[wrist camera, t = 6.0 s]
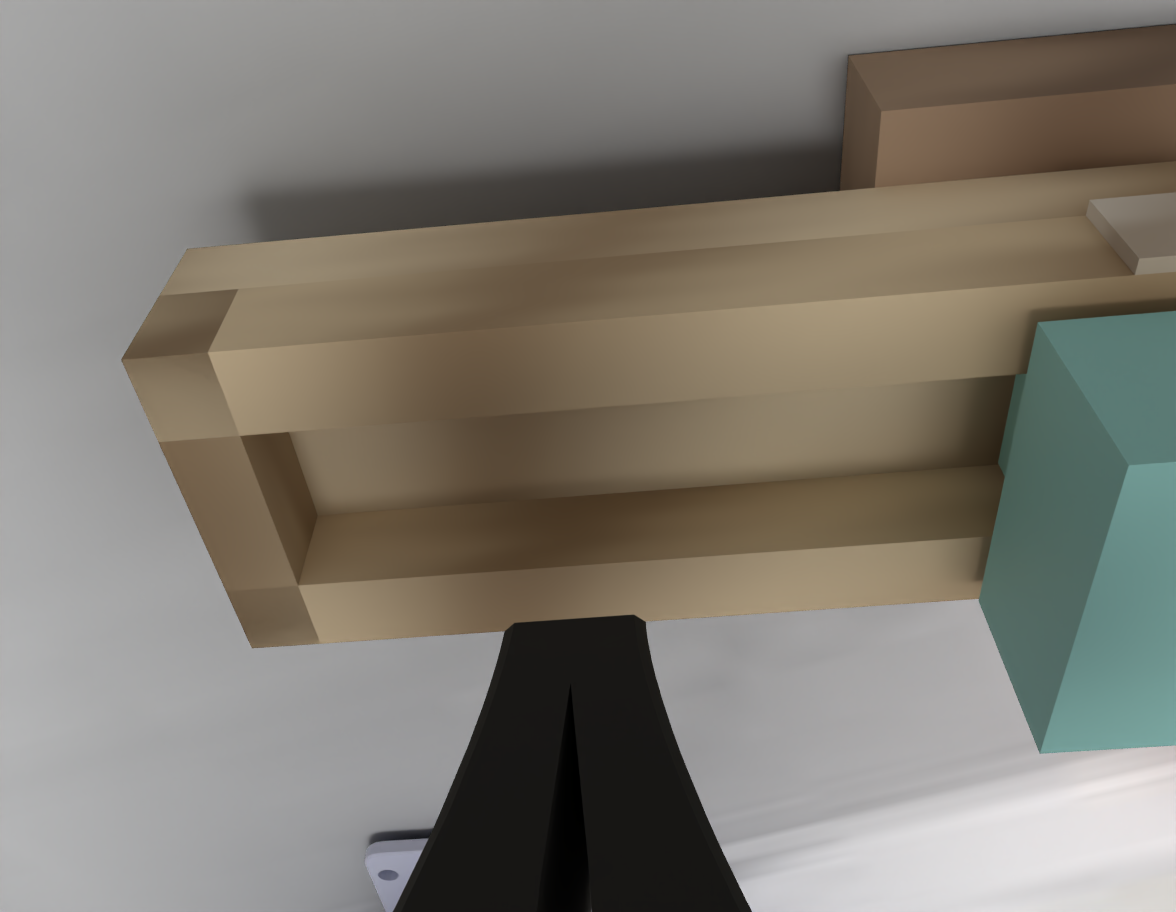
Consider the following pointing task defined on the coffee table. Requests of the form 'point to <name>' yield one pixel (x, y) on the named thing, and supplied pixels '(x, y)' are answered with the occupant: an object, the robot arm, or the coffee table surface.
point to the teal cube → (1090, 535)
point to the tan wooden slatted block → (670, 369)
